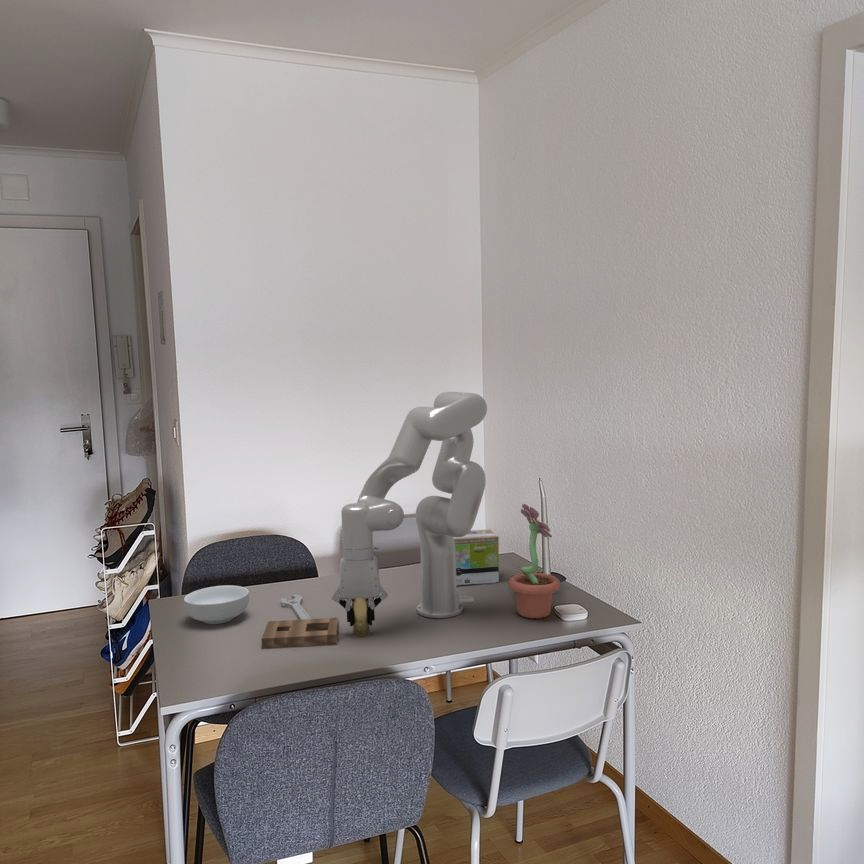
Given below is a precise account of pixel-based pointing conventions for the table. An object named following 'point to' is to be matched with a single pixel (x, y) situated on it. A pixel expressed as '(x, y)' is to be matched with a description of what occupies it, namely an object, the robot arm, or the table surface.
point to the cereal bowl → (217, 603)
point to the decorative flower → (534, 575)
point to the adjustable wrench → (295, 606)
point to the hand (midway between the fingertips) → (361, 623)
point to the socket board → (300, 633)
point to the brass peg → (360, 617)
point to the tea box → (477, 557)
